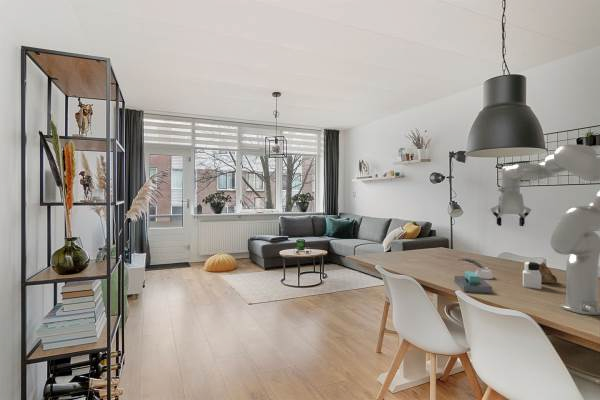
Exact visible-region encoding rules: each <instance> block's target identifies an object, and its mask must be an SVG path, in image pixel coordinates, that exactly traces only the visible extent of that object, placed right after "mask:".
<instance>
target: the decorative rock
mask: <svg viewBox="0 0 600 400" xmlns="http://www.w3.org/2000/svg"><path fill="white" fill-rule="evenodd" d="M538 264H539V272H540V273H541V283H545V284H547V283H548V284H556V283H558V278H557V277H556V275H554V274H553V273H552V270H550V269H549V268H548V266H547V264H546V263H545V262H544V261H542V262H541V263H538Z"/></svg>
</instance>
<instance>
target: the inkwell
mask: <svg viewBox="0 0 600 400" xmlns="http://www.w3.org/2000/svg"><path fill="white" fill-rule="evenodd" d="M459 261H464V262H468V263H470V264H474V266H477V268H476V269H475V272H474V273H475V274H476V275H478V276H479V277H480V278H482V279H483V280H484V279H485V280H491V279H494V275H493V272H492V270H491V269H489V267H484V266H483V265H482V264H481V263H480V262H478V261H476V260H475V259H472V258H469V257H462V258H459V259H457V262H459Z"/></svg>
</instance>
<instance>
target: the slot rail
mask: <svg viewBox="0 0 600 400" xmlns="http://www.w3.org/2000/svg"><path fill="white" fill-rule="evenodd" d="M454 282H455V285H457V286H458V287H459V288H460V289H461V291H463V292H464V293H476V294H493V286H492V285H491V284H489V283H488V282H487V281H486V280H484V279H482V278H480V277H479V284H470V283H469V280H466V279H465V276H464V275H454Z"/></svg>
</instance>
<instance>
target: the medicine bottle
mask: <svg viewBox="0 0 600 400" xmlns="http://www.w3.org/2000/svg"><path fill="white" fill-rule="evenodd" d="M539 264H540V263H538V262H534V261H527V262H524V270H522V285H523V288H527V289H535V290H536V289H537V290H541V289H542V282H541V273H540V272H539Z"/></svg>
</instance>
